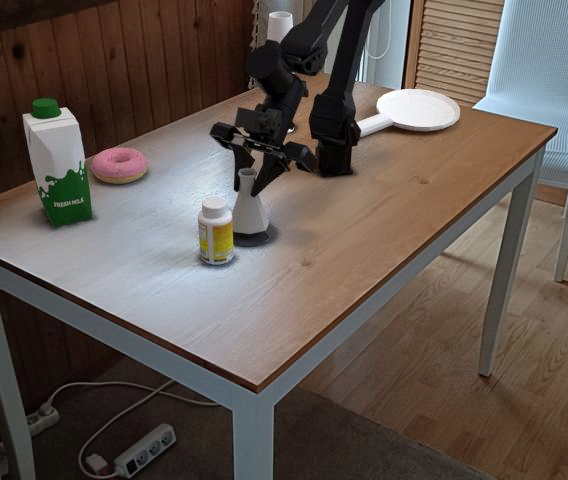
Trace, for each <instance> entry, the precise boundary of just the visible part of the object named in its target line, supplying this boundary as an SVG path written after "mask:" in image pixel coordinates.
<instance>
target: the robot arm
mask: <svg viewBox="0 0 568 480" xmlns="http://www.w3.org/2000/svg"><path fill="white" fill-rule="evenodd" d="M385 2H386V0H315V1H314V3H313V5H312V7H311V9H310V10H309V12H308V13H307V15H306V17H305V19H304V20H303V21H302V22H300V23H297V24H296V25H293V27H292V28H291V29H290V30H289V32H288V33H287V34H286V35H285V37H284V38H283V39H282V41H281V42H280V43H278V41H274V40H270V39H267V38H266V40H265V42H264V44H263V45H260V46H258V47H256V48H254V49H253V50H251V52H250V53H249V54H248V55H247V57H246V60H245V63H244V64H245V65H244V66H245V71H246V73H247V75H248V76H249V77H250V79H252V81H253V82H254V83H255V84H256V86H257V87H258V88H259V89H260V91H262V93H263V94H265V97H264V99H263V101H262V103H260V102H258V103H257V104H256V105H255V107H254V109H251V108H246V107H242V106H237V111H236V115H235V121H234V125H233V124H230V123H226V122H221V121H217V122H215V123H213V125H212V126H211V128H210V131H209V133H208V136H210V137H211V139H212V140H214V141H215V142H216V143H217V144H218V145H219V146H220V147H221V148H223V149H225V150H227V151H232V153H233V159H234V173H233V191H234V192H235V193H239V187H240V176H239V175H238V172H239V170H240V169H244V168H253V166H254V164H255V162H256V159H255V158H254V156H252V155H251V154H252V152H253V151H256V152H259V153H262V154H263V155H262V165H261V167H260V168H259V171H258V173H257V175H256V180H255V183H254V185H253V188H252V191H251V194H250V195H251V196H252V197H253V198H255V197H256V196H257V195H260V193H262V192H263V190H265V189H266V188H267V187H268V186H269V185H270V184H271V183H272V182H274V181H275V180H276V179H277V178H279V177H280V176H282V175H283V174H285V173H286V172H287V173H290V172H291V170H292V169H291V168H290V167H291V164H292V162H295V163H294V164H295V166H296V169H297V170H298V171H301V172H305V173H308V174H314V173H315V171H316V169H317V170H318V172H319V173H320V174H321V176H322V177H323V178H324V177H336V176H345V175H352V174H354V169H353V168H352V156H353V148H354V147H357V146H359V142H360V139H361V138H360V135H361V129H360V127H359V126H358V124H357V122H358V121H356V120H355V118H356V114H357V107H356V104H355V100H354V96H353V92H354V88H355V84H356V80H357V76H358V73H359V69H360V65H361V61H362V58H363V54H364V50H365V46H366V42H367V39H368V35H369V30H370V27H371V24H372V20H373V16H374V14H375V13H376V12H377V11H378V10H379V8H381V6H382V5H383V4H384V3H385ZM346 8H347V9H346ZM345 10H346V13H345V17H344V21H343V25H342V29H341V33H340V37H339V40H338V44H337V49H336V51H335V57H334V59H333V60H334V61H333V65H332V68H331V73H330V77H329V80H328V84H327V87H326V88H325V89H324V90H323V91H322V92H321V93H316V94H315V96H314V98H313V104H312V107H311V110H310V112H309V116H308V126H309V132H310V138H311V140H316V141H317V145H316V146H315V147H314V152H313V151H312V150H311V148H310V147H309V146H308V145H307V144H303V143H299V142H295V141H292V140H289V141H287V142H286V143H285V139H286V138H287V136H288V134H289V133H288V130H289V129H290V130H293V128H294V129H295V126H296V124H295V122H293V121H294V118H295V116H296V113H297V111H298V108H299V106H300V104H301V101H302V99H303V98H305V99H307V98H309V95H310V94H309V89H308V86H307V81H306V80H304V79H301V77H300V76H299V75H302V76H307V77H317V75H319V73H320V72H321V71H322V69H323V68H324V66H325V64H326V59H327V57H328V54H329V47H328V41H329V38H330V36H331V34H332V33H333V31H334V29H335V28H336V25H337V24H338V22H339V21H340V19H341V17H342V15H343V13H344V12H345ZM293 73H294V74H293ZM241 128H242V129H243V131H244V132H245V133H246V134H248V135H245V134H243V133H242V132H241V131H240V130H239V129H241ZM293 131H294V130H293Z"/></svg>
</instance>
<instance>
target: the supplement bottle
mask: <svg viewBox="0 0 568 480" xmlns="http://www.w3.org/2000/svg"><path fill="white" fill-rule="evenodd" d="M197 226H198V228H197V229H198V241H199V242H198V243H199V254H200V258H201V260H202V261H203V262H205V263H207V264H208V265H223V264H226V263H229V262H230V261H231V260H232V259H233V257H234V244H233V225H232V211H230V209H228V202H227V200H226V199H225V198H223V197H220V196H210V197H206V198H204V199H203V200H202V202H201V210H200V211H199V212H198V214H197Z"/></svg>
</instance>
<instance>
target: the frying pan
mask: <svg viewBox="0 0 568 480" xmlns="http://www.w3.org/2000/svg"><path fill="white" fill-rule="evenodd" d="M375 110H376V112H377V114H375V115H372V116H370V117H367V118H364V119H361V120H359V121H356V122H357V124H358V126H359V127H360V129H361V135H360V139H361V138H363V137H365V136H368V135H370V134H374V133H376V132H379V131H382V130H383V129H386V128H389V127H392V126H393V127H396V128H399V129H402V130H407V131H412V132H425V133H426V132H427V133H428V132H435V131H440V130H443V129H445V128H448V127H450V126H453V125H454V124H456V122H457V121H459V119H460V115H461V107H460V106H459V105H458V103H457V101H456V100H453V99H452V98H451V97H449V96H448V95H445V94H441V93H439V92H437V91H432V90H428V89H422V88H421V89H420V88H403V89H397V90H396V89H395V90H392V91H389V92H387V93H384V94H382V96H380V97H379V98H378V99H377V102H376V106H375Z"/></svg>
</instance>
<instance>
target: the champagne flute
mask: <svg viewBox="0 0 568 480" xmlns="http://www.w3.org/2000/svg"><path fill="white" fill-rule="evenodd" d="M268 15H269V16H268V24H267V34H266V40H267V39H270V40H274V41H278V43H280V42H281V41H282V39H283V38H284V37H285V35H286V34H287V33H288V32H289V30H290V29H291V28H292V27H294V22H293V14H292V13H291V12H287V11H273V12H270V13H269V14H268ZM293 74H295V73H293ZM294 129H295V127H294V128H293V130H290V129H289V130H288V133H287V134H289V133H291V132H294Z"/></svg>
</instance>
